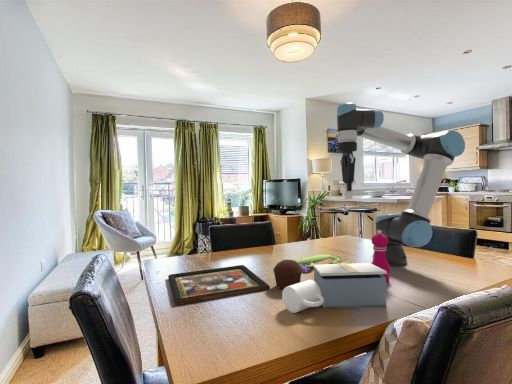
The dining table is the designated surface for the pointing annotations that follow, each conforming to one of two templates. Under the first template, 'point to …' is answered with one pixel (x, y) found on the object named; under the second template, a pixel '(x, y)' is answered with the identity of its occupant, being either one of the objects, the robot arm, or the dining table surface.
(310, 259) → the figurine
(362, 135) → the robot arm
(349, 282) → the box
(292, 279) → the muffin
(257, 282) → the framed painting
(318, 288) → the mug
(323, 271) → the lid
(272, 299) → the dining table surface
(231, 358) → the dining table surface
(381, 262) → the pepper mill
